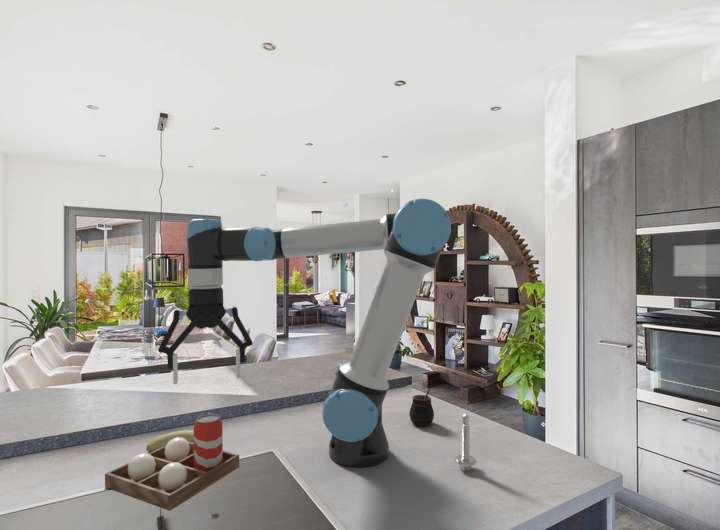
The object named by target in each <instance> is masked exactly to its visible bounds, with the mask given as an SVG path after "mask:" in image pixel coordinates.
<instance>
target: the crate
mask: <svg viewBox="0 0 720 530" xmlns="http://www.w3.org/2000/svg"><path fill="white" fill-rule="evenodd" d="M188 443H189V446H190V451H189V454H188V456H187V457H186V458H184V459H182V460H180V461H178V462H177V463H180V464H182V465H183V466H184V467H185V468H186V471H187V478H186V481H185V483H184V484H183V486H182V487H181V488H179V489H177V490H175V491H172V492H168V491H165V490H163V489H162V488H161V487H160V485H159V482H158V476H159V473H160V471H161V470H162V468H163V467H164V466H166V465H167V464H169V463H172V462H171V461H169V460H168V459H167V458H166V456H165V447H166V446H164V447H161V448H159V449H157V450H155V451H150V452H149V453H147V454H150V455H151V456H153V457H154V459H155V462H156V468H155V471H154V473H153V474H152V475H151V476H149V477H147V478H145V479H143V480H141V481H135V480H133V479H131V478H130V476H129V474H128V465H129V463H130V461H129V462H127V463H125V464H123V465H121V466H118V467H116V468H114V469H112V470H109V471H108V472H106V473H104V488H106V489H109V490H111V491H115V492H116V493H120V494H121V495H124V496H125V495H126V496H128V497H131V498H133V499H135V500H139V501H141V502H144V503H147V504H150V505H151V506H155V507H158V508H160V509H164V510H166V511H169V512H171V511H172V510H174V509H175V508H177V507H179V506H180V505H181V504H183V503H185V502H186V501H188V500H190V499H192V498H193V497H194V496H196V495H197V494H199V493H201V492H203V491H204V490H206V489H207V488H208V487H210V486H213V484H215V483H216V482H219V481H220V480H221V479H223V478H224V477H226V476H228V475H229V474H231V473H233V472H234V471H236V470H237V469H239V468H240V454H238V453H233V452H230V451H226V450H223V463H222V464H220V465H218V466H216V467H215V468H213V469H211V470H210V471H208V472H204V471H201V470H198V469H194V443H192V442H188Z"/></svg>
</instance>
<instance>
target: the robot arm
mask: <svg viewBox="0 0 720 530" xmlns="http://www.w3.org/2000/svg"><path fill="white" fill-rule="evenodd" d="M451 224H452V222H451V218H450V216H449V214H448V212H447V210H446V209H445V208H444V206H442V205H441V204H440V203H438V202H437V201H434V200H432V199H429V198H416V199H415V198H414V199H411V200H409V201H407V202H406V203H404V204H403V205H402V206H401V207H399V209H398V211H396V212H395V213H394V212H393V213H387V214H386V213H385V214H384V216H383V217H382V218H378V219H376V218H375V219H368V220H367V219H366V220H358V221H349V222H348V221H347V222H338V223H330V224H329V223H328V224H320V225H310V226H299V227H298V226H297V227H290V228H280V229H279V228H278V229H276V228H275V229H271V228H269V227H262V226H261V227H260V226H253V227H251V226H250V227H231V228H230V227H229V228H228V227H223V224H222V221H221V220H219V219H215V218H198V219H197V218H195V219H191V220H190V221H188V223H187V231H186V233H187V236H186V243H187V264H188V265H187V285H188V287H190V288H189V289H188V290H187V293H188V294H187V297H188V308H187V310H185V309H184V310H181V309H180V308H179V309H178V308H176V309H174V311H173V315H172V321H171V323H170V325H169V327H168V330H167V331H166V333H165V335H164V338H162V341H161V343H160V345H159V347H158V349H157V351H158V352H159V353H161V354H166V356H167V358H166V359H167V368H168V370H169V369H170V370H171V369H172V372H173V374H172V375H173V378H172V379H173V380H172V384H173V385H177V384H178V383H179V370H178V369H179V365H178V352H177V351H176V350H177V349H178V348H179V346H181V344H182V343H183V342H184V341H185V339H186V338H187V337H188V336H189V335H190V333H191V332H193V330H194V329H195V328H197V329H205V328H207V329H208V328H209V329H214V328H215V327H219V328H220V329H221V330H222V332H224V333H225V334H226V335H227V336H228V337H229V339H230V340H231V341H233V343H234V344H235V345H236V346H237V347H235V367H236V369H235V373H236V374H235V375H236V378H237V379H240V378H241V363H245V360H246V348H247V347H251V346H253V345H254V344H253V341H252V338H251V337H250V335H249V333H248V332H247V329H246V328H245V325H244V324H243V322H242V320H241V318H240V317H239V311H238V308H237V306H234V305H233V306H232V307H227V308H225V307H224V288H222V287H221V286H223V285H224V275H223V274H224V271H223V263H224V262H229V261H230V262H231V261H232V262H239V261H240V262H249V261H251V262H262V261H274V260H282V259H289V258H290V259H292V258H301V257H314V256H325V255H336V254H349V253H358V252H369V251H370V252H371V251H380V250H383V252H384V256H385V257H386V264H385V265H384V266H385V267H384V270H383V272H382V274H381V277H380V279H379V282H378V285H377V287H376V289H375V293H374V295H373V298H372V300H371V303H370V305H369V308H368V311H367V314H366V316H365V319H364V322H363V325H362V326H361V329H360V332H359V334H358V338H357V340H356V343H355V345H354V348H353V351H352V353H351V356H350V359H349V361H343V362H339V363H337V365H336V368H335V372H334V373H335V378H334V381H333V384H332V386H331V388H330V391H329V394H328V396H327V397H326V398H325V400H324V402H323V406H322V420H323V423H324V425H325V426H324V427H326V429H327V431H328V432H329V434H331V438H330V440H329V443H328V449H329V450H328V455H329V457H330V459H331V460H332V461H334V462H335V463H338V464H339V465H342V466H346V467H353V468H364V467H365V468H366V467H371V466H375V465H378V464H382V463H383V462H384V461H387V459H388V458H389V455H390V450H389V449H390V444H389V441H388V437H387V436H386V435H387V434H386V432H385V429H384V425H383V402H384V399H385V398H386V395H387V393H388V390H389V388H390V387H389V386H390V384H389V383H388V380H387V373H388V371H389V369H390V365H391V363H392V361H393V358H394V355H395V352H396V350H397V347H398V344H399V342H400V339H401V337H402V336H403V332H404V329H405V327H406V324H407V321H408V319H409V316H410V314H411V311H412V310H413V306H414V303H415V301H416V299H417V296H418V294H419V291H420V288H421V285H422V283H423V280H424V277H425V275H427V274H429V273H431V272H434V271H435V269H436V266H437V264H438V261H439V260H440V259H439V258H440V256H441V253H442V251H443V249H444V246H445V245H446V243H448V242H449V239H450V237H451V233H452V225H451ZM223 261H224V262H223ZM226 314H228V315H229V317H230V318H233V321H234V322H235V324H236V326H237V327H238V330H239V331H240V333H241V336H242V337H243V338H244V341H243V340H242V339H240V338H239V336H238V335H236V334H235V332H234V331H233V330H232V329H231V328H230V327H229V326H228V325H227V324H226V323H225V321H223V320H222V319H223V318H224V316H225V315H226ZM185 316H186V317H187V318H188V319H189V321H190V322H189V324H188V325H187V326H186V327H185V329H184V330H183V331H182V332H181V333H180V334H179V336H178V337H177V338H176V339H175V341H174V342H173V343H171V345H170V346H167V345H168V344H169V341H170V340H171V337H172V336H173V334H174V331H175V329H176V328H177V326H178V324H179V322H180V321H181V320H183V318H184V317H185ZM175 351H176V352H175Z"/></svg>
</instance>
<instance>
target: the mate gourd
mask: <svg viewBox="0 0 720 530" xmlns="http://www.w3.org/2000/svg"><path fill="white" fill-rule="evenodd" d="M430 391H431V388H430V387H428V389H427V391H426V393H425V394H416V395H413V396H412V403H411V406H410V408H409V418H410V421H411V423H412V424H413V425H415V426H417V427H424V428H425V427H427V426H429V425H432V423H433V421H434V418H435V412H434V408H433V406H432V405H433V404H432V397H430V396H428V395H429V393H430Z"/></svg>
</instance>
